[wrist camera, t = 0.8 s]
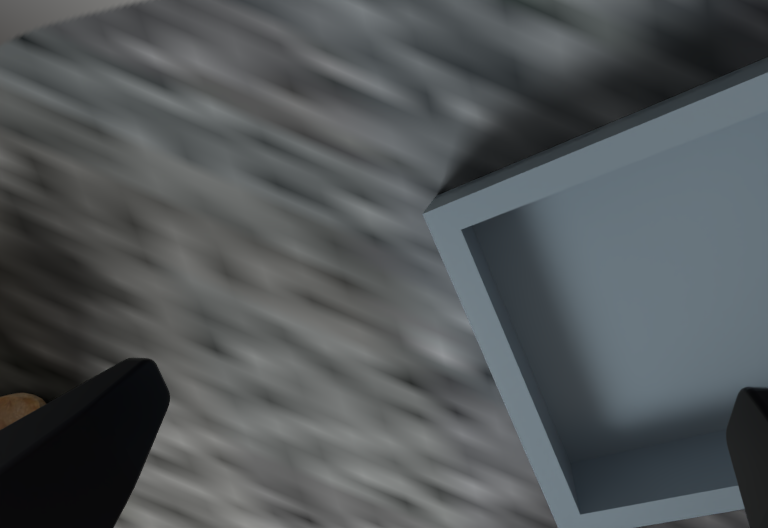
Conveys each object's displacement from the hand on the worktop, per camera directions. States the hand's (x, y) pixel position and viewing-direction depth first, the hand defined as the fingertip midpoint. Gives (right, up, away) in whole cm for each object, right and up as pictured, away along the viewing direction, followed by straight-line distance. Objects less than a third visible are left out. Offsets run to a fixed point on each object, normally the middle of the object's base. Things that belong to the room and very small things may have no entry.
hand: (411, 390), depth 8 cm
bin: (+11, +1, +12) cm, 16 cm away
